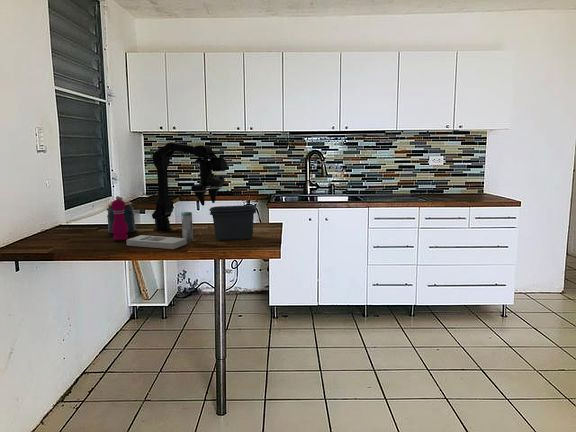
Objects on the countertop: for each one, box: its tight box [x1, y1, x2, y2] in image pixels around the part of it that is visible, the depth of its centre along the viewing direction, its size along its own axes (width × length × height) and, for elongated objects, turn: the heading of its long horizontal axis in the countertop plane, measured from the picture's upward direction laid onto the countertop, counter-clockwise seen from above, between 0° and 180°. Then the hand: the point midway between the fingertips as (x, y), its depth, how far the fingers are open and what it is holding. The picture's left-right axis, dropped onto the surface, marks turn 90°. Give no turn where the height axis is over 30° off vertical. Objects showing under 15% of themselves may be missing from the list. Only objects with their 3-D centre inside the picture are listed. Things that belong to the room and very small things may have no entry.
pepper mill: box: [111, 195, 129, 241], centre depth 213 cm, size 7×7×20 cm
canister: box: [106, 196, 136, 235], centre depth 230 cm, size 13×13×18 cm
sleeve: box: [180, 211, 194, 243], centre depth 206 cm, size 5×5×13 cm
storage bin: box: [208, 204, 257, 241], centre depth 213 cm, size 21×16×14 cm
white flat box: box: [125, 234, 188, 250], centre depth 201 cm, size 24×10×3 cm, turn 70°
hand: (208, 204), depth 222 cm, fingers open, 9 cm apart
